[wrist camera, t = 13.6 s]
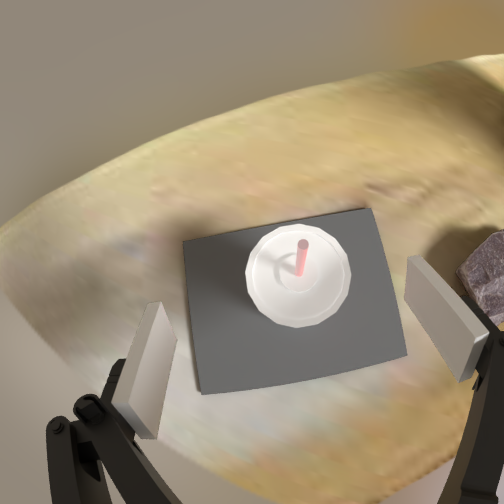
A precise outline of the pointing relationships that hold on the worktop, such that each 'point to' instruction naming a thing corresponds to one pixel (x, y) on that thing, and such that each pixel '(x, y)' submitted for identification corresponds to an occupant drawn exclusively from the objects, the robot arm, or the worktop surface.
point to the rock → (486, 276)
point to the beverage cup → (298, 275)
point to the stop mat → (280, 336)
